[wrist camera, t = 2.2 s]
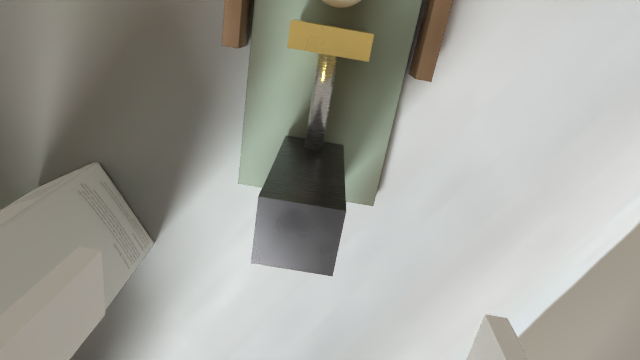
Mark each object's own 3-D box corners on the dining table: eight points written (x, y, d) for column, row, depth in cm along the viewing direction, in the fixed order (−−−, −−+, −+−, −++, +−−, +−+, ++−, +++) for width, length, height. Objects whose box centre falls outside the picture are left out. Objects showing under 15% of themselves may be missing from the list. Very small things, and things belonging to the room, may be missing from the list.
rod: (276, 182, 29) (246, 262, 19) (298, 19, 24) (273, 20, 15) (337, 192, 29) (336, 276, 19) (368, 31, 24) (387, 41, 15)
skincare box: (34, 187, 31) (-224, 332, 17) (104, 156, 30) (-112, 285, 16) (97, 270, 34) (-80, 457, 20) (162, 245, 33) (24, 425, 18)
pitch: (222, 174, 30) (210, 190, 27) (247, -178, 22) (234, -206, 19) (391, 202, 30) (396, 220, 28) (477, -135, 22) (497, -157, 20)
